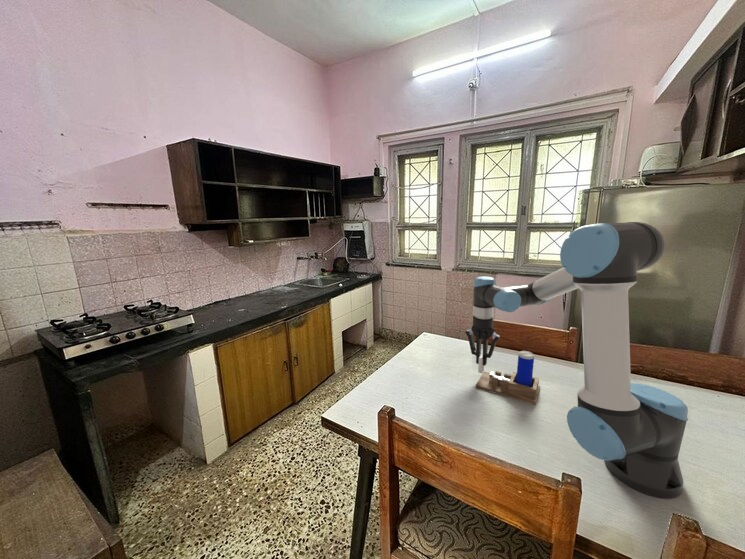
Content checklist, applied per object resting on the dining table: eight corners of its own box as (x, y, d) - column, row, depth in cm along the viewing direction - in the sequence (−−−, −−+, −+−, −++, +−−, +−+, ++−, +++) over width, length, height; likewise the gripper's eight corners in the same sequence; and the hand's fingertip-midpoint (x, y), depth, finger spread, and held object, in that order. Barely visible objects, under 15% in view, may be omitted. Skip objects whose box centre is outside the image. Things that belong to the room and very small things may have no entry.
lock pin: (507, 387, 114) (508, 379, 113) (488, 382, 117) (489, 374, 117) (509, 383, 116) (509, 376, 115) (490, 378, 120) (491, 371, 119)
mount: (535, 405, 104) (536, 392, 103) (475, 387, 116) (476, 375, 115) (539, 388, 114) (541, 376, 113) (483, 373, 126) (484, 362, 125)
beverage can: (527, 386, 114) (531, 350, 111) (533, 394, 109) (536, 357, 106) (513, 385, 115) (516, 350, 111) (518, 393, 110) (521, 356, 106)
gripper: (503, 315, 114) (500, 371, 119) (469, 311, 122) (467, 363, 126) (498, 321, 108) (495, 380, 113) (463, 316, 116) (462, 371, 120)
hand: (481, 371), depth 120 cm, fingers closed
